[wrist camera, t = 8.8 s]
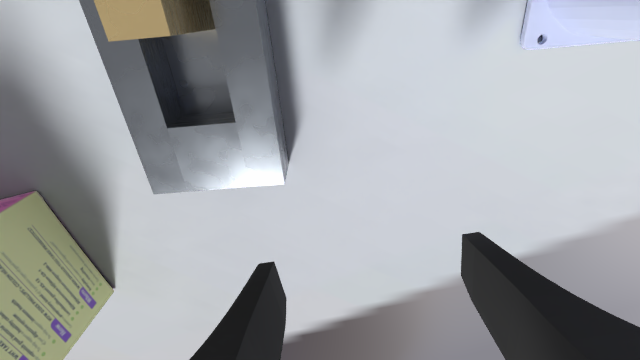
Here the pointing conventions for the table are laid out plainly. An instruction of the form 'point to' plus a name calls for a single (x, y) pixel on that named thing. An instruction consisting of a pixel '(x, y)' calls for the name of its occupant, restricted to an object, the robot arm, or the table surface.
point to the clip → (153, 18)
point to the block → (201, 100)
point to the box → (43, 283)
